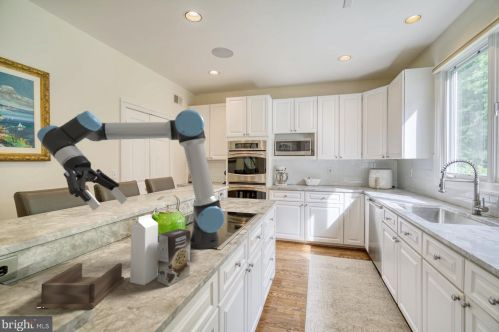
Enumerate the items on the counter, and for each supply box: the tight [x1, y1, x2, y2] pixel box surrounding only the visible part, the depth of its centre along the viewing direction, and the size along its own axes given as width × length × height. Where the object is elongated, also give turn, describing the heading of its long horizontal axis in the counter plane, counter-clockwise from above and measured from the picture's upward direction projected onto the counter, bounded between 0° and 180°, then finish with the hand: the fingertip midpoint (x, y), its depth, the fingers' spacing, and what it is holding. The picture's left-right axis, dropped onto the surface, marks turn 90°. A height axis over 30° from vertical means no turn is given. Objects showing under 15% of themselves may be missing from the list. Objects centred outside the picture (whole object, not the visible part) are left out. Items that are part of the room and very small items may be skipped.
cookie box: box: [156, 228, 192, 287], centre depth 75 cm, size 9×6×16 cm
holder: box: [36, 262, 125, 310], centre depth 66 cm, size 15×15×6 cm
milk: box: [129, 213, 159, 286], centre depth 74 cm, size 6×6×22 cm
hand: (111, 204), depth 77 cm, fingers open, 13 cm apart
